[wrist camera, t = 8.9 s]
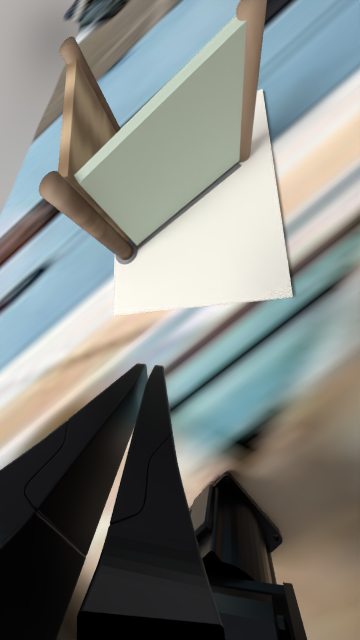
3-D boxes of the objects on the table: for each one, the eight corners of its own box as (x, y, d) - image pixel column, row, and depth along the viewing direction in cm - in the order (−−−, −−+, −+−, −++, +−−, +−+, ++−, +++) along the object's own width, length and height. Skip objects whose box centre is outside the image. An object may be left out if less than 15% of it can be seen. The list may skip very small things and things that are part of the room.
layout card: (291, 297, 18) (293, 296, 18) (115, 315, 24) (112, 314, 24) (261, 93, 22) (262, 87, 22) (118, 151, 28) (116, 147, 28)
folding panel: (139, 248, 24) (78, 184, 14) (132, 238, 24) (70, 170, 15) (253, 153, 21) (273, -6, 11) (243, 145, 21) (254, -14, 12)
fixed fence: (133, 258, 24) (59, 192, 14) (119, 261, 25) (37, 200, 14) (134, 149, 27) (73, 24, 16) (121, 154, 28) (54, 37, 17)
